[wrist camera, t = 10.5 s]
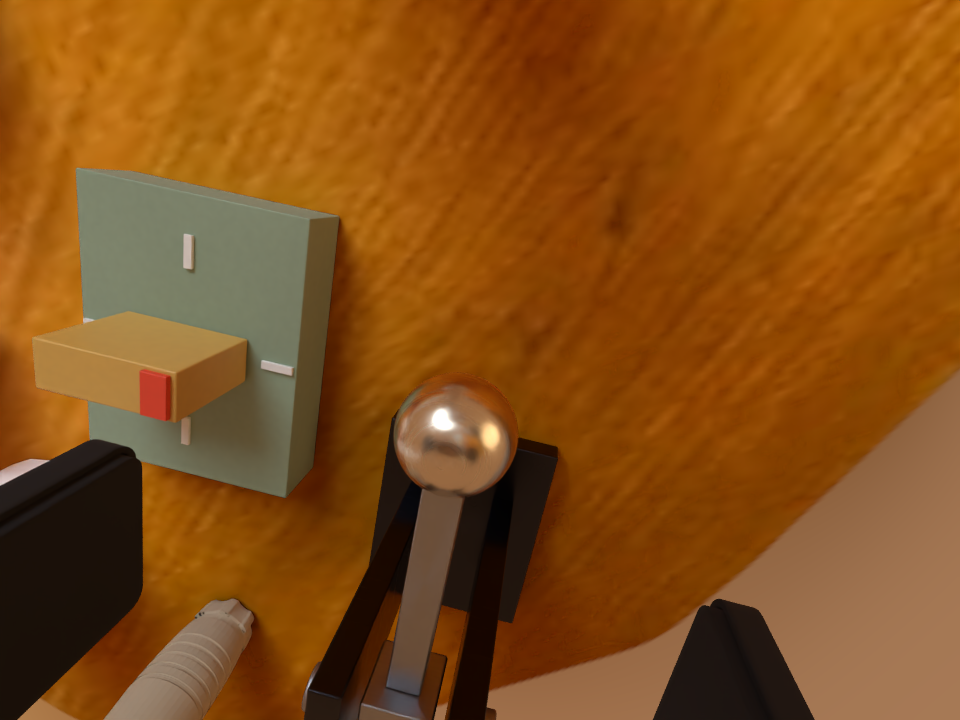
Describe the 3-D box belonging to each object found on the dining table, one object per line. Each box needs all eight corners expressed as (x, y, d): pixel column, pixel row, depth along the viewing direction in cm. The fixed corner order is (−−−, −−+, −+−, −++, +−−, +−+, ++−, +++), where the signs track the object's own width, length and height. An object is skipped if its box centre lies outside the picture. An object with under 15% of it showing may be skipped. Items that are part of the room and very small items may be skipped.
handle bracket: (398, 408, 26) (261, 596, 14) (558, 446, 25) (562, 678, 13) (372, 570, 29) (243, 839, 17) (513, 607, 28) (484, 913, 16)
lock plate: (131, 170, 24) (71, 167, 21) (339, 216, 23) (308, 219, 20) (136, 423, 28) (86, 450, 25) (313, 467, 27) (283, 500, 24)
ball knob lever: (420, 345, 15) (386, 384, 12) (533, 371, 14) (527, 418, 11) (364, 684, 19) (327, 778, 16) (450, 708, 19) (430, 808, 16)
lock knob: (129, 353, 23) (29, 390, 19) (128, 310, 23) (24, 338, 18) (245, 381, 23) (171, 426, 18) (248, 338, 22) (171, 374, 18)
